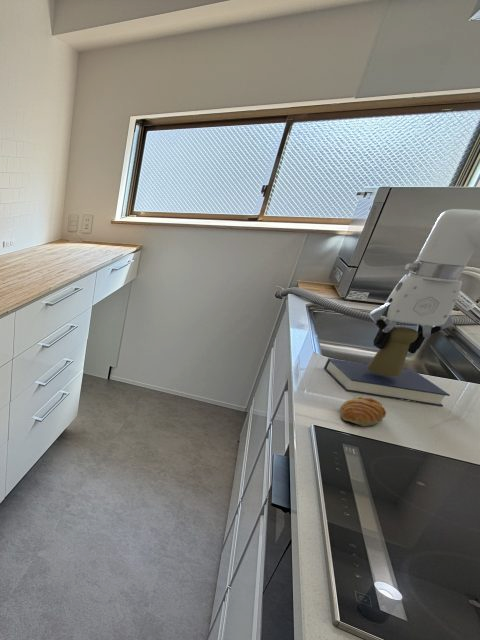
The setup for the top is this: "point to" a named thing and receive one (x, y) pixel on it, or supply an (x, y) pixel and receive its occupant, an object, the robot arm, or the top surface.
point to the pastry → (363, 411)
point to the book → (384, 382)
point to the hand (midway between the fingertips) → (393, 348)
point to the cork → (393, 352)
